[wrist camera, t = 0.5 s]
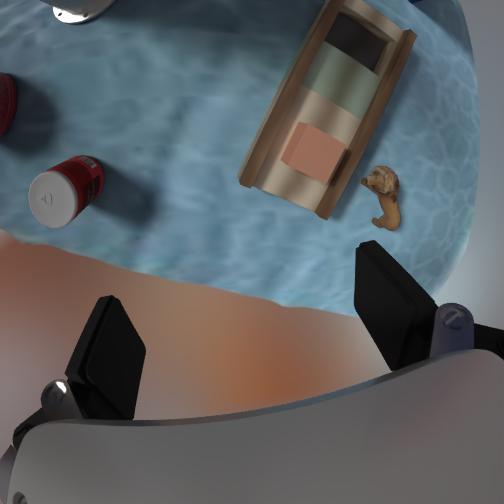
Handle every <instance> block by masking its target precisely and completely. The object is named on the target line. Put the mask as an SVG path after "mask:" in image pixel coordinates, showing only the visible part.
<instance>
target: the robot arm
mask: <svg viewBox="0 0 504 504" xmlns="http://www.w3.org/2000/svg"><path fill="white" fill-rule="evenodd" d="M40 1H42V2H44V3H47V4H49V5H51V6H53V11H54V14H55V16H56V18H57V19H58V20H59V21H61V22H64V23H67V24H79V23H83V22H86V21H88V20H91V19H93V18H95V17H96V16H98V15H100V14H101V13H102V12H104V11H105V10H106V9H108V8H109V7H110V6H111V5H112V4H113V3H114V2H115V1H116V0H40ZM354 307H355V310H356V312H357V313H358V315H359V317H360V318H361V320H362V322H363V323H364V325H365V327H366V328H367V330H368V332H369V333H370V335H371V337H372V338H373V340H374V342H375V344H376V345H377V347H378V349H379V351H380V352H381V354H382V356H383V358H384V359H385V361H386V363H387V365H388V366H389V368H390V370H391V371H394V372H391V373H388V374H386V375H383V376H380V377H377V378H374V379H371V380H368V381H365V382H362V383H359V384H356V385H353V386H350V387H347V388H344V389H340V390H337V391H334V392H331V393H327V394H323V395H320V396H316V397H312V398H308V399H304V400H300V401H296V402H292V403H287V404H282V405H277V406H272V407H267V408H262V409H256V410H250V411H244V412H238V413H231V414H223V415H216V416H206V417H196V418H185V419H167V420H133V418H134V413H135V406H136V401H137V395H138V389H139V385H140V379H141V374H142V369H143V364H144V359H145V355H146V348H145V345H144V343H143V341H142V340H141V338H140V336H139V335H138V333H137V331H136V329H135V328H134V326H133V324H132V323H131V321H130V319H129V317H128V315H127V313H126V311H125V310H124V308H123V306H122V304H121V302H120V300H119V299H118V298H115V297H114V296H113V295H110V296H105V297H100V298H99V299H98V301H97V303H96V305H95V307H94V309H93V311H92V313H91V315H90V317H89V319H88V321H87V323H86V325H85V327H84V330H83V332H82V334H81V336H80V338H79V340H78V343H77V345H76V347H75V349H74V352H73V354H72V357H71V359H70V361H69V364H68V366H67V369H66V371H65V375H66V376H67V377H68V380H67V381H65V380H64V379H56V380H53V381H52V382H50V383H49V384H48V385H47V386H46V387H45V388H44V390H43V392H42V395H41V405H42V408H40V409H39V410H38V411H37V412H35V413H34V414H33V415H31V416H30V417H29V418H28V419H26V420H25V421H24V422H22V423H21V424H20V425H19V426H18V427H17V428H16V429H15V431H14V435H13V445H14V447H13V446H12V445H10V447H9V448H8V449H7V451H6V452H5V453H4V455H3V456H2V458H1V459H0V499H1V501H2V502H3V504H504V330H501V329H496V328H492V327H488V326H484V325H480V324H475V323H474V320H473V316H472V314H471V313H470V311H469V310H468V309H467V308H466V307H464V306H462V305H460V304H457V303H446V304H443V305H441V306H440V307H438V306H437V305H436V304H435V301H434V300H433V299H432V298H431V297H430V296H429V294H428V293H427V292H426V291H425V290H424V289H423V288H422V287H421V286H420V285H419V284H418V283H417V282H416V281H415V279H414V278H413V277H412V276H411V275H410V274H409V273H408V272H407V271H406V270H405V269H404V268H403V267H402V266H401V265H400V264H399V263H398V262H397V261H396V260H395V259H394V258H393V257H392V256H391V255H390V254H389V253H388V252H387V251H386V250H385V249H384V248H383V247H382V246H381V245H379V244H378V243H377V242H376V241H375V240H371V241H367V242H363V243H360V245H359V247H358V248H356V260H355V290H354Z"/></svg>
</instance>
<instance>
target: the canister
mask: <svg viewBox="0 0 504 504" xmlns="http://www.w3.org/2000/svg"><path fill="white" fill-rule="evenodd" d="M16 106H17V88H16V84H15V82H14V80H13V79H12V77H11V76H9V75H7V74H5V73H1V72H0V137H1V136H3V135H4V134H5V132H6V131H7V130H8V128H9V127H10V125H11V123H12V120H13V118H14V115H15V111H16Z"/></svg>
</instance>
